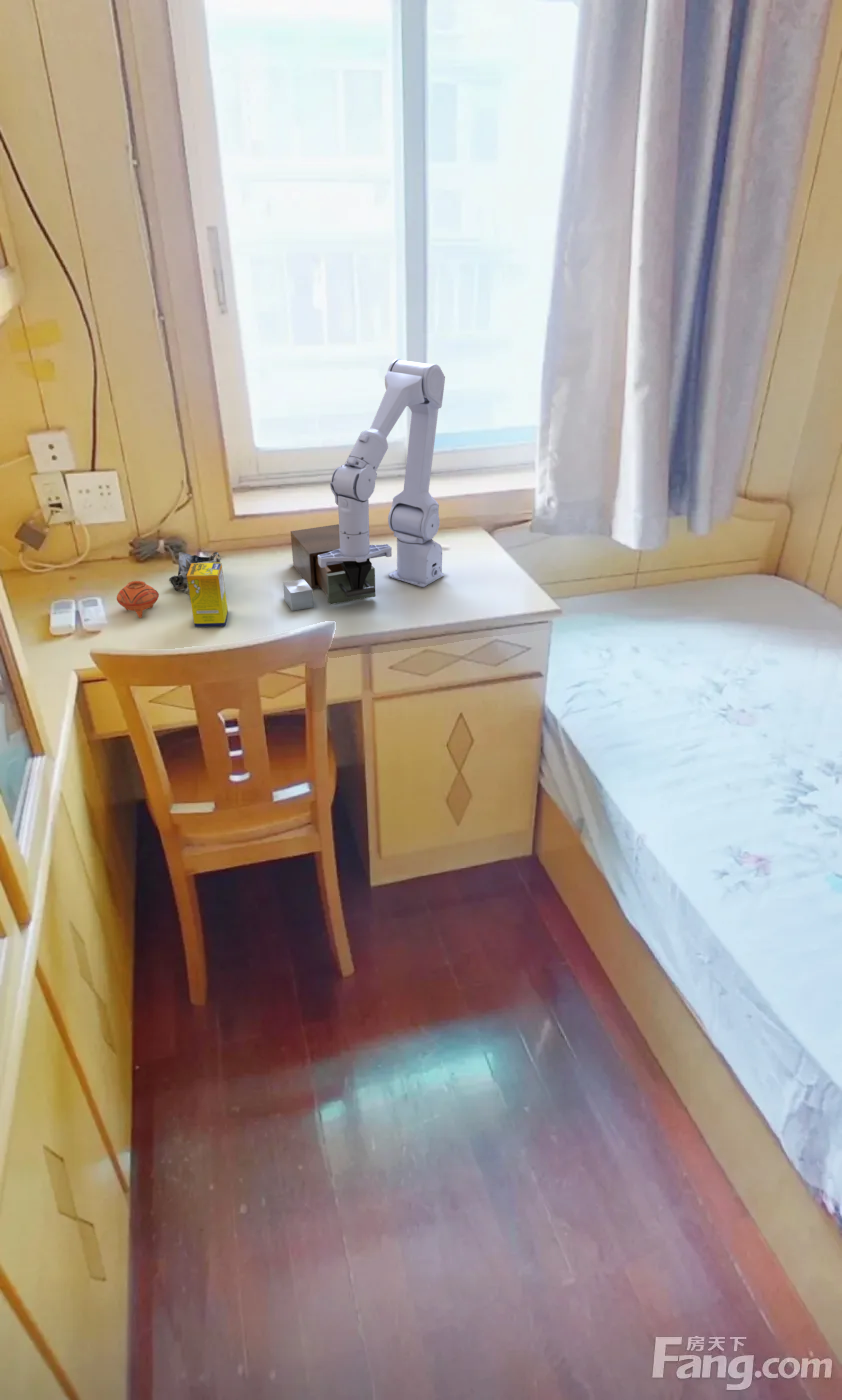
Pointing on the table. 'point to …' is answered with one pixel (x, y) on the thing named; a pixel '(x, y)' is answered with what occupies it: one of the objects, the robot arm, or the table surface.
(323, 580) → the drawer
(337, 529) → the cabinet
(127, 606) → the pot
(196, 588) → the supplement box
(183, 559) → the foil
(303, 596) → the shiny metal block
